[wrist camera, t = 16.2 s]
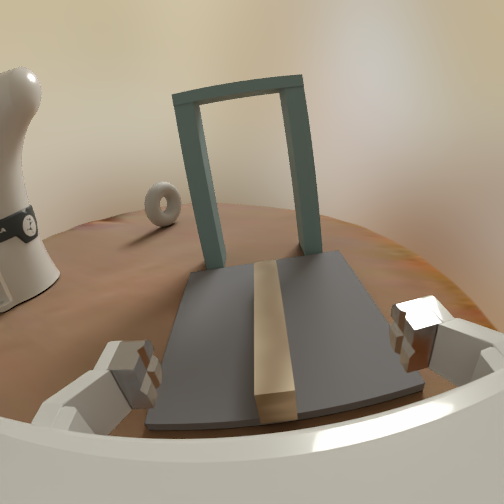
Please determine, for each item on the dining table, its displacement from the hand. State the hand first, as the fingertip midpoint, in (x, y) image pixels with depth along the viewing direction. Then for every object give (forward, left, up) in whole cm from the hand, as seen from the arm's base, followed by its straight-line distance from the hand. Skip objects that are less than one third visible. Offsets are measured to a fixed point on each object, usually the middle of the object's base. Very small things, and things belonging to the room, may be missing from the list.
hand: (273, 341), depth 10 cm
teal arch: (0, +34, -11) cm, 36 cm away
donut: (-20, +59, -12) cm, 64 cm away
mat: (0, +18, -11) cm, 21 cm away
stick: (0, +14, -11) cm, 18 cm away
